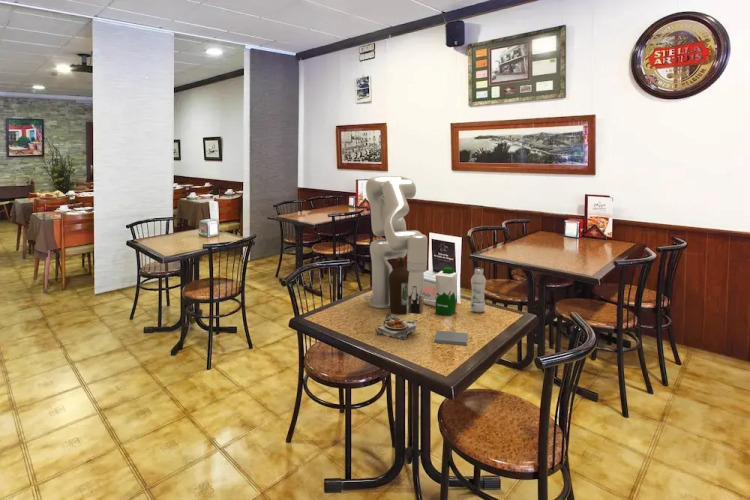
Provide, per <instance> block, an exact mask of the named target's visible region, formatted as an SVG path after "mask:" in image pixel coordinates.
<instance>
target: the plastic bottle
mask: <svg viewBox="0 0 750 500" xmlns="http://www.w3.org/2000/svg"><path fill="white" fill-rule="evenodd" d="M470 283H471V297H470V298H471V300H470V303H469V304H470V305H469V306H470V311H471V312H474V313H483V312H485V309H486V303H485V288H486V284H487V279H486V277H485V275H484V268H482V267H475V268H474V274H473V275H472V277H471V279H470Z"/></svg>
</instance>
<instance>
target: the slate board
mask: <svg viewBox="0 0 750 500" xmlns="http://www.w3.org/2000/svg"><path fill="white" fill-rule="evenodd" d="M468 335H469V333H468V332H458V331H457V332H456V331H444V330H436V331H435V336H434V339H433V343H437V344H448V345H460V346H468V337H469V336H468Z"/></svg>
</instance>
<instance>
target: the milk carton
mask: <svg viewBox="0 0 750 500" xmlns="http://www.w3.org/2000/svg"><path fill="white" fill-rule="evenodd" d="M457 284H458V272H455V271H453V267H452V266H451V267H450V266H445V267H443V270H440V271H439V272H437V273H436V274H435V303H434V305H435V311H434V312H435V314H438V315H443V316H449V317H451V316H452V315H453V314H454V313H455V312H456V309H457V293H458V291H457V288H458V287H457V286H458V285H457Z"/></svg>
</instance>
